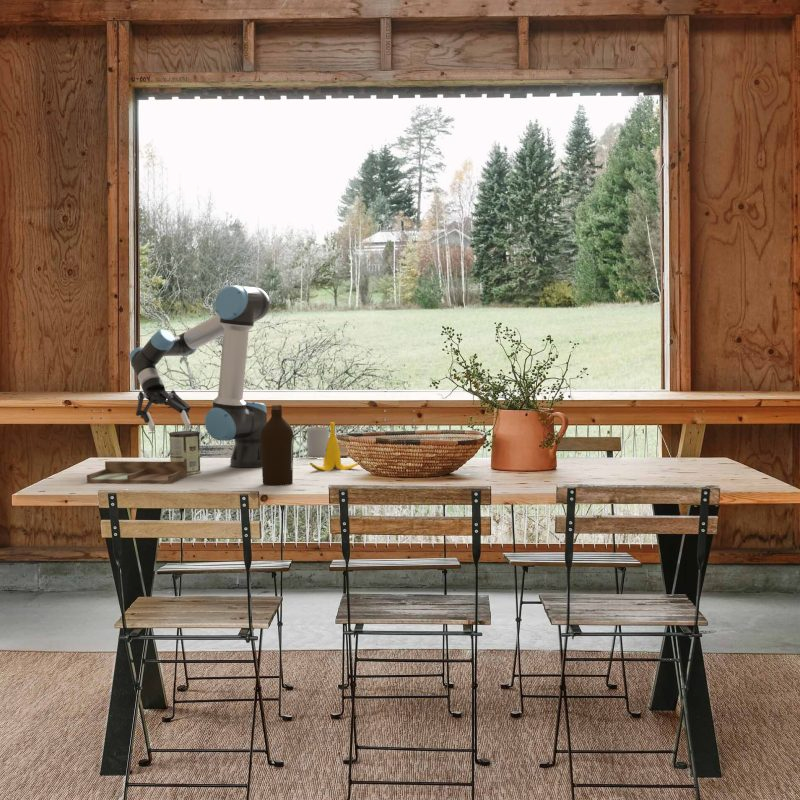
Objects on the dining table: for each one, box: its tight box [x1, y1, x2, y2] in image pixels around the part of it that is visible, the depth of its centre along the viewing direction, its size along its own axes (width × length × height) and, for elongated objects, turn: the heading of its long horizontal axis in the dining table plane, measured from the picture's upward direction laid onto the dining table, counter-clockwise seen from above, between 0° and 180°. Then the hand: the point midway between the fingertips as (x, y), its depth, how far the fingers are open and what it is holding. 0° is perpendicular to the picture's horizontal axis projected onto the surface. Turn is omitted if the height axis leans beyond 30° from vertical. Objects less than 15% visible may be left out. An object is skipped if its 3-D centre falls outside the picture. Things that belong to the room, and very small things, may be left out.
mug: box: [306, 426, 330, 458], centre depth 386 cm, size 12×8×11 cm
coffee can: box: [168, 430, 202, 476], centre depth 339 cm, size 10×10×14 cm
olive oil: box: [260, 404, 295, 487], centre depth 311 cm, size 11×11×25 cm
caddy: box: [86, 460, 188, 484], centre depth 323 cm, size 28×16×5 cm, turn 84°
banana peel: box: [309, 421, 359, 472], centre depth 345 cm, size 17×19×17 cm
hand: (171, 427), depth 345 cm, fingers open, 13 cm apart
